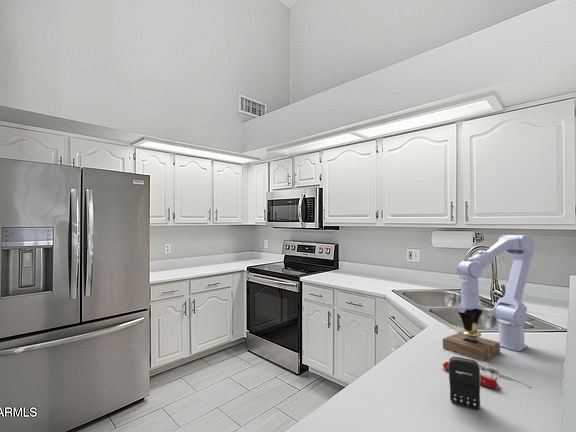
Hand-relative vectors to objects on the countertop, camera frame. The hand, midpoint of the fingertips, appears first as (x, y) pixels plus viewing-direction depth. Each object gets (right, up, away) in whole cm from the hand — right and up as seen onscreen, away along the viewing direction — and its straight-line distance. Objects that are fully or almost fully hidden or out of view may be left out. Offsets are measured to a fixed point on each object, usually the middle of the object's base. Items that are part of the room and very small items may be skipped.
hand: (470, 329), depth 113 cm
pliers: (-5, -7, -21) cm, 22 cm away
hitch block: (0, -8, -1) cm, 8 cm away
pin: (0, -5, -1) cm, 5 cm away
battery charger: (-24, -5, -37) cm, 45 cm away
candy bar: (-14, -7, -23) cm, 28 cm away
